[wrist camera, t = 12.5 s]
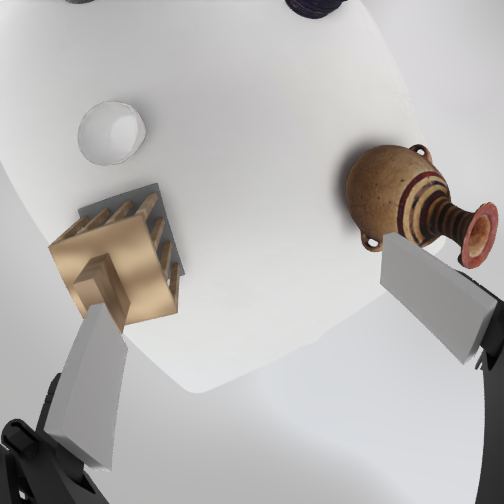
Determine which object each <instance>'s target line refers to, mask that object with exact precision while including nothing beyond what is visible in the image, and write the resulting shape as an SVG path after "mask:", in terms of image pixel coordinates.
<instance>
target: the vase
mask: <svg viewBox="0 0 504 504" xmlns="http://www.w3.org/2000/svg"><path fill="white" fill-rule="evenodd" d="M419 149H422V150H423V151H424V155H420V154H419V153H417V151H418V150H419ZM346 199H347V204H348V208H349V211H350V214H351V216H352V218H353V220H354V221H355V223H356V224H357V226H358V227H359V229H360V231H361V241H362V244H363V246H364V247H365V248H366V249H367V250H369V251H371V252H379V251H382V249H383V235H386V234H390V233H393V232H396V233H397V234H399V235H401V236H402V237H404V238H406V239H407V240H409V241H411V242H412V243H414V244H416V245H417V246H419V247H420V248H423V247H425V246H427V245H429V244H431V243H432V242H434V241H435V240H436V239H437V238H439V237H440V236H441V235H444V236H446V237H448V238H450V239H452V240H454V241H455V242H456V243H457V244H458V245H459V246H461V254H460V255H459V256H458V262H459V263H460V264H461V265H462V266H463V267H466V268H468V269H473V268H476V267H478V266H480V264H481V263H482V262H483V261H484V260H485V259H486V258H487V256H488V254H489V252H490V250H491V248H492V246H493V244H494V240H495V236H496V231H497V227H498V211H497V208H496V206H495V205H494V204H493V203H491V202H488V203H487V204H482V205H481V206H480V208H479V209H477V210H476V212H475V213H471V212H467V211H464V210H462V209H460V208H458V207H457V206H455V205H453V204H452V203H451V197H450V191H449V188H448V185H447V183H446V181H445V179H444V178H443V176H442V175H441V174H440V172H439V171H438V170H437V169H436V168H435V167H434V165H433V164H432V158H431V155H430V152H429V151H428V149H427V148H426V147H424V146H423V145H419V144H417V145H413V146H412V147H410V148H409V149H408V148H405V147H401V146H395V145H383V146H378V147H375V148H373V149H371V150H369V151H367V152H366V153H364V154H363V155H362V156H361V157H360V158H359V159H358V160H357V161H356V162H355V164H354V165H353V167H352V169H351V171H350V173H349V176H348V179H347V184H346ZM369 239H373V240H375V241H377V242H378V245H377V246H376V247H373V246H371V245H369V244H368V241H369Z"/></svg>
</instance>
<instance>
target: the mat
mask: <svg viewBox="0 0 504 504" xmlns="http://www.w3.org/2000/svg"><path fill="white" fill-rule="evenodd" d="M154 192H156V194H157V197H158V199H157V201H156V203H155V205H154V206H153V208H152V210H151V212H150V214H149V216H148V217H147V219H146V221H145V222H146V225H147V228H148V231H149V234H150V235H151V233H152V230H153V228H154V225H155V223H156V221H157V219H159V218H163V217H164V221H165V224H164V228H163V231H162V234H161V238H160V241H159V244H158V248H157V251H156V254H157V257H158V260H159V262H160V260H161V256H162V252H163V247H164V243H165V242H168V241H171V243H172V252H171V258H170V265H169V272H168V279H170V277H171V269H172V264H175V263H178V264H179V267H180V276H182V275H185V273H184V270H183V267H182V264H181V261H180V258H179V255H178V252H177V249H176V245H175V242H174V239H173V236H172V233H171V229H170V226H169V223H168V219H167V216H166V213H165V209H164V206H163V202H162V199H161V195H160V191H159V188H158V184H157V183H156V184H152V185H149V186H146V187H142V188H139V189H136V190H133V191H130V192H127V193H124V194H121V195H118V196H115V197H112V198H109V199H106V200H103V201H100V202H97V203H95V204H92V205H89V206H86V207H84V208H81V209H79V210H78V212H79V215H80V218H81V217H83V216H86V215H88V218H89V220H90V221H91V220H92V219H93V218H94V217H95V216H96V215H98V214H99V213H100V212H101V211H102V210H103V209H105V208H109V211H110V215H109V216H108V217H107V218H106V219H105V220H104V221H103V222H102V223H101V224H100V225H99V226H98V227H100V226H103V225H104V224H105V223H106V222H107V221H108V220H109V219H110V218H111V217H112V216H113V215H114V214H115V212H116V211H117V210H118V209H119V208H120V207H121V206H122V205H123V204H124V203H125V202H126V201H129V200H131V201H132V204H133V207H132V208H131V209H130V211H129V212H128V213H127V214H126V216H125V217H124V218H127V217H130V216H134V215H135V213H136V212H137V210H138V209H139V208H140V206H141V205H142V204H143V202H144V201H145V199H146V198H147V197H148V195H149V194H151V193H154ZM124 218H123V219H124ZM90 221H89V222H90ZM89 222H88V223H89ZM88 223H87V224H88ZM87 224H86V225H87ZM86 225H85V226H86ZM85 226H84V227H85Z"/></svg>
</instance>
